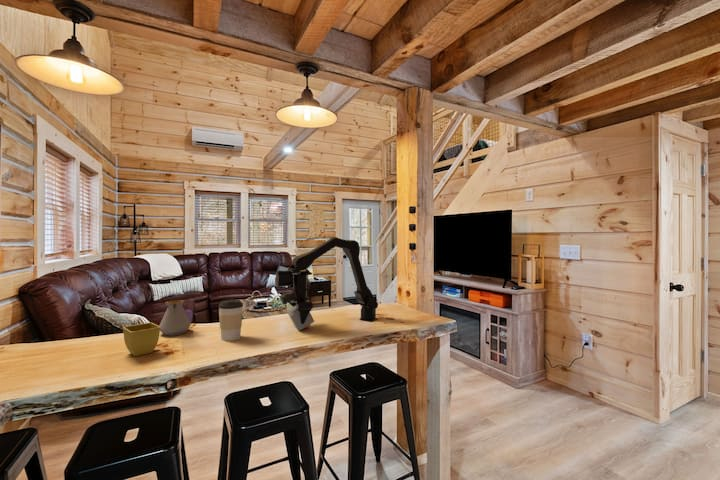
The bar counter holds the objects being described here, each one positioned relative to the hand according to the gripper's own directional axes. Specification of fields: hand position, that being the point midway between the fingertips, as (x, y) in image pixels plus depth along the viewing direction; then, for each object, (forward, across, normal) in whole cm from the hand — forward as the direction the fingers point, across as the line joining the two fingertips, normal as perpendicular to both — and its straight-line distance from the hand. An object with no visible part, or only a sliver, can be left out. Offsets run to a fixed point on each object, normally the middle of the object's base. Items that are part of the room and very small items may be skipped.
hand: (299, 321), depth 143 cm
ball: (+1, 0, +2) cm, 2 cm away
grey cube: (+1, 0, +2) cm, 2 cm away
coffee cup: (+3, +2, -28) cm, 28 cm away
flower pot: (+4, +7, -57) cm, 57 cm away
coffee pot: (+4, -9, -48) cm, 49 cm away
